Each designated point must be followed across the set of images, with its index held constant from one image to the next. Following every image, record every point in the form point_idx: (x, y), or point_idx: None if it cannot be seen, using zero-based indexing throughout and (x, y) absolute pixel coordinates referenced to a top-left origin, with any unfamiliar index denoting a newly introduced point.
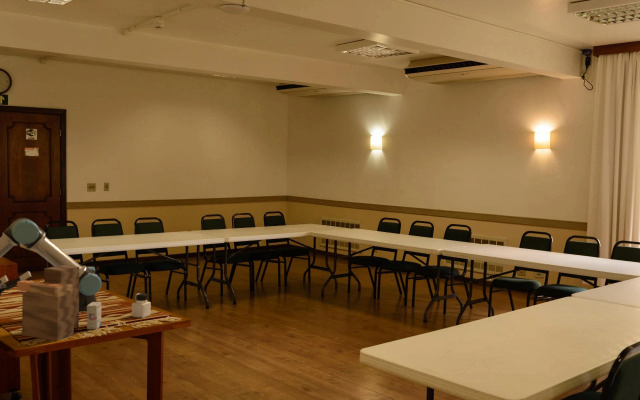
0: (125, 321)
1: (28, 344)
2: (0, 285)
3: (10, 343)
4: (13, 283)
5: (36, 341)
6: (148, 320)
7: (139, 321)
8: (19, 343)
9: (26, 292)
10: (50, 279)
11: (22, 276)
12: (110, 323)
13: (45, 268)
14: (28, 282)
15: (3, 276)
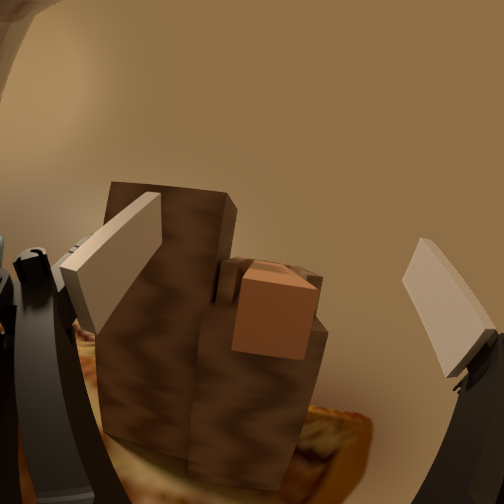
0: (79, 341)
1: (334, 428)
2: (439, 356)
3: (362, 458)
4: (87, 418)
5: (305, 429)
6: (78, 323)
7: (83, 330)
8: (345, 445)
9: (313, 326)
10: (224, 248)
11: (113, 255)
12: (93, 356)
13: (222, 192)
14: (290, 276)
15: (438, 248)
